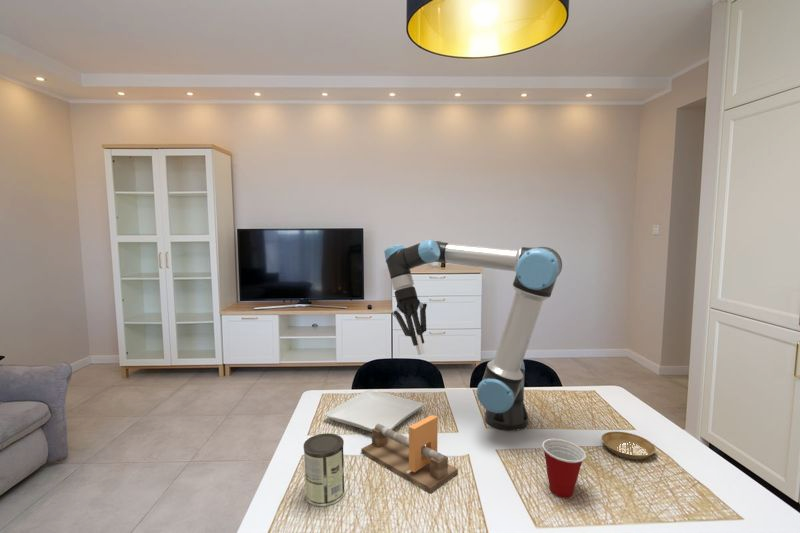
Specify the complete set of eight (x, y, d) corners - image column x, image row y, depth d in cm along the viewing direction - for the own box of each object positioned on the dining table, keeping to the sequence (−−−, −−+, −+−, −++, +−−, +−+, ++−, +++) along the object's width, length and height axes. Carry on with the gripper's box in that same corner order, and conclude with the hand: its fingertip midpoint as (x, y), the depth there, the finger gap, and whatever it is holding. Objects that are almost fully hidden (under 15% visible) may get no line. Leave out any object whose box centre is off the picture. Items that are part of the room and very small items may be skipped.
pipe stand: (361, 453, 129) (360, 428, 128) (389, 438, 137) (388, 415, 137) (430, 493, 109) (430, 464, 108) (457, 473, 118) (458, 447, 117)
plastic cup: (589, 507, 104) (591, 461, 102) (543, 501, 106) (545, 457, 105) (579, 481, 114) (581, 439, 113) (538, 476, 116) (539, 435, 115)
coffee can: (317, 478, 116) (316, 430, 115) (351, 486, 113) (350, 436, 111) (297, 501, 106) (295, 449, 105) (333, 510, 103) (331, 456, 102)
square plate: (425, 412, 158) (425, 402, 158) (384, 443, 135) (384, 432, 135) (368, 396, 172) (368, 387, 172) (322, 423, 150) (322, 412, 149)
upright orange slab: (409, 469, 116) (408, 426, 115) (432, 455, 123) (432, 414, 122) (414, 472, 114) (414, 429, 113) (437, 457, 121) (437, 416, 120)
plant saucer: (594, 451, 129) (594, 443, 129) (609, 434, 140) (609, 426, 140) (648, 470, 119) (648, 461, 119) (659, 449, 130) (660, 442, 130)
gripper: (416, 286, 153) (433, 349, 150) (384, 294, 148) (400, 359, 145) (424, 282, 146) (442, 348, 143) (390, 290, 141) (408, 359, 138)
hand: (421, 354), depth 144 cm, fingers closed
